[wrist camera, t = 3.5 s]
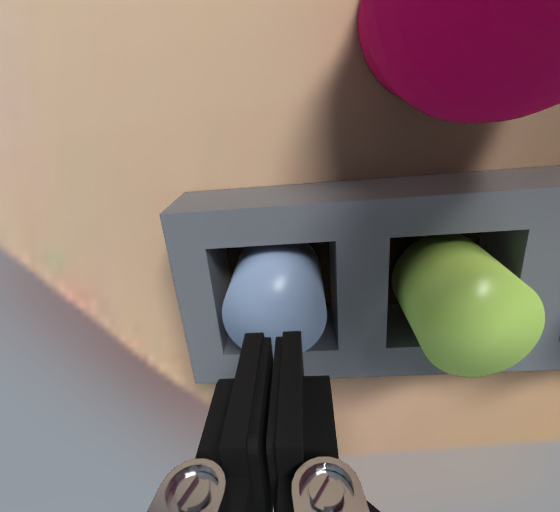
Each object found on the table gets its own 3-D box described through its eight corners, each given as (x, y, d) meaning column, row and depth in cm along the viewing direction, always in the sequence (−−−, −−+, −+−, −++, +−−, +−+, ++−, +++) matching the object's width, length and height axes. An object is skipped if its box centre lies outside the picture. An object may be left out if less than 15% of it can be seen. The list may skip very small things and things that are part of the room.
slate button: (318, 229, 17) (325, 265, 13) (321, 305, 19) (328, 357, 15) (231, 234, 17) (214, 271, 14) (242, 309, 19) (229, 361, 15)
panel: (698, 155, 16) (803, 170, 12) (642, 318, 19) (713, 364, 16) (184, 192, 17) (159, 214, 14) (211, 337, 20) (195, 383, 17)
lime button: (493, 229, 15) (556, 272, 12) (480, 313, 17) (533, 374, 13) (393, 235, 15) (423, 279, 12) (390, 318, 17) (416, 379, 13)
